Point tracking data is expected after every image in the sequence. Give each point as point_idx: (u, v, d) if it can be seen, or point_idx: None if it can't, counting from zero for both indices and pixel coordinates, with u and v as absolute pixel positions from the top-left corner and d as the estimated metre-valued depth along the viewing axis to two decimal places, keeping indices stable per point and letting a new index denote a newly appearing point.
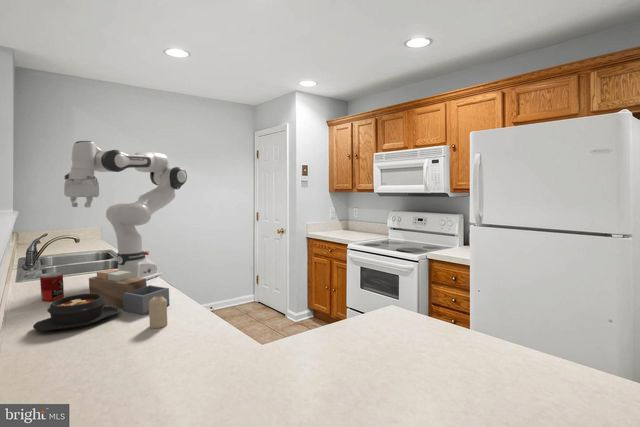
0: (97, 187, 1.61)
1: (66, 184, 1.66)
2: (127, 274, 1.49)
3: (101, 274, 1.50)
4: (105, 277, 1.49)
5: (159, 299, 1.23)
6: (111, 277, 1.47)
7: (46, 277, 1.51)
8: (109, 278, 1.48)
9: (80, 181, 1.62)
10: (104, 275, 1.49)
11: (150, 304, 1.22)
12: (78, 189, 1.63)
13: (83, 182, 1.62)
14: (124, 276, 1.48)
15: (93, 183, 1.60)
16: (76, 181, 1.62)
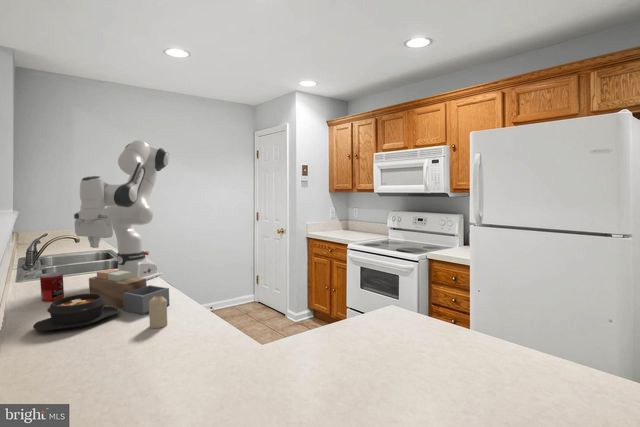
0: (110, 227, 1.51)
1: (76, 223, 1.56)
2: (127, 274, 1.49)
3: (101, 274, 1.50)
4: (105, 277, 1.49)
5: (159, 299, 1.23)
6: (111, 277, 1.47)
7: (46, 277, 1.51)
8: (109, 278, 1.48)
9: (91, 221, 1.52)
10: (104, 275, 1.49)
11: (150, 304, 1.22)
12: (90, 229, 1.53)
13: (95, 222, 1.51)
14: (124, 276, 1.48)
15: (106, 223, 1.50)
16: (87, 221, 1.52)
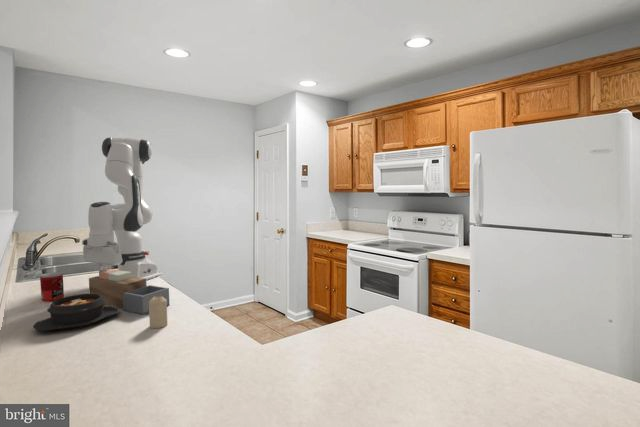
0: (119, 254, 1.50)
1: (85, 249, 1.55)
2: (128, 274, 1.49)
3: (103, 274, 1.49)
4: (107, 277, 1.48)
5: (159, 299, 1.23)
6: (112, 277, 1.47)
7: (46, 277, 1.51)
8: (110, 278, 1.48)
9: (100, 248, 1.50)
10: (106, 275, 1.48)
11: (150, 304, 1.22)
12: (99, 256, 1.52)
13: (104, 249, 1.50)
14: (124, 276, 1.48)
15: (115, 251, 1.48)
16: (96, 248, 1.50)
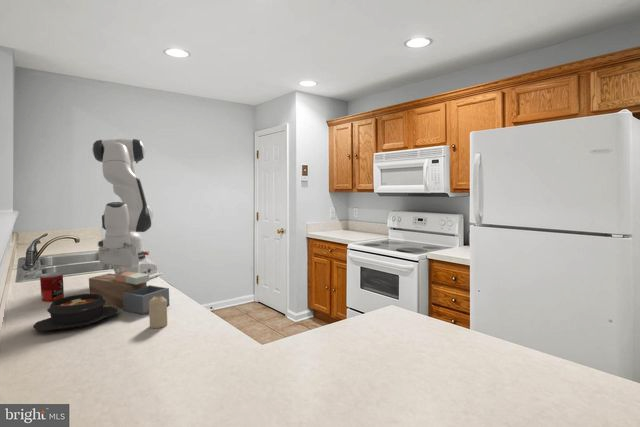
0: (136, 256, 1.45)
1: (100, 251, 1.50)
2: (145, 277, 1.45)
3: (120, 277, 1.45)
4: (124, 280, 1.44)
5: (159, 299, 1.23)
6: (129, 280, 1.42)
7: (46, 277, 1.51)
8: (127, 281, 1.43)
9: (117, 249, 1.46)
10: (123, 278, 1.44)
11: (150, 304, 1.22)
12: (115, 258, 1.47)
13: (120, 251, 1.45)
14: (142, 279, 1.43)
15: (132, 252, 1.44)
16: (112, 250, 1.45)
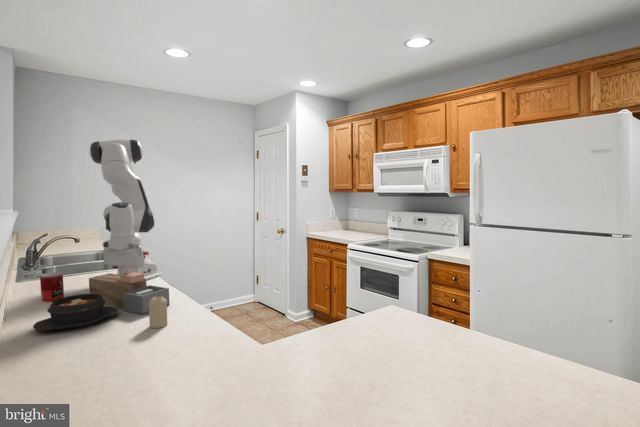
0: (142, 256, 1.44)
1: (105, 252, 1.49)
2: None
3: (125, 278, 1.43)
4: (129, 281, 1.42)
5: (159, 299, 1.23)
6: None
7: (46, 277, 1.51)
8: None
9: (122, 250, 1.44)
10: (128, 279, 1.43)
11: (150, 304, 1.22)
12: (120, 259, 1.46)
13: (125, 252, 1.44)
14: None
15: (137, 253, 1.42)
16: (117, 251, 1.44)
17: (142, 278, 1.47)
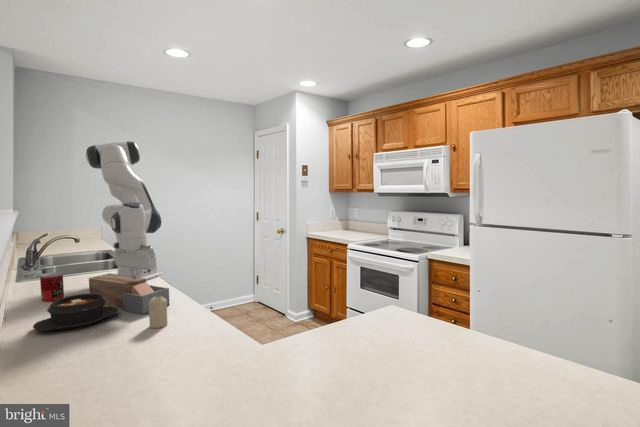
0: (154, 258, 1.41)
1: (116, 253, 1.46)
2: None
3: (136, 292, 1.41)
4: None
5: (159, 299, 1.23)
6: None
7: (46, 277, 1.51)
8: None
9: (133, 251, 1.41)
10: None
11: (150, 304, 1.22)
12: (132, 260, 1.43)
13: (137, 253, 1.41)
14: None
15: (149, 254, 1.40)
16: (129, 252, 1.41)
17: None
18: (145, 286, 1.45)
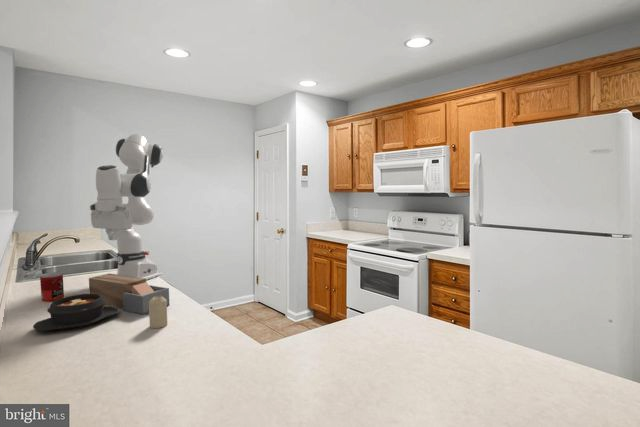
0: (129, 219, 1.45)
1: (93, 215, 1.50)
2: None
3: (136, 292, 1.41)
4: None
5: (159, 299, 1.23)
6: None
7: (46, 277, 1.51)
8: None
9: (109, 213, 1.45)
10: None
11: (150, 304, 1.22)
12: (108, 221, 1.47)
13: (113, 214, 1.45)
14: None
15: (125, 215, 1.44)
16: (105, 213, 1.45)
17: None
18: (145, 286, 1.45)
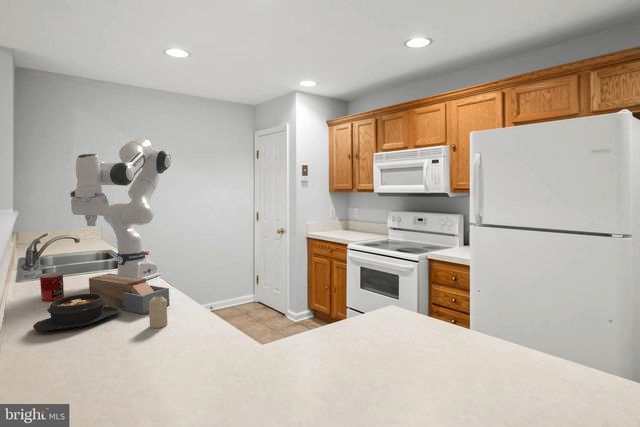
0: (107, 205, 1.50)
1: (73, 202, 1.55)
2: None
3: (136, 292, 1.41)
4: None
5: (159, 299, 1.23)
6: None
7: (46, 277, 1.51)
8: None
9: (88, 199, 1.50)
10: None
11: (150, 304, 1.22)
12: (86, 207, 1.51)
13: (91, 200, 1.50)
14: None
15: (102, 201, 1.48)
16: (84, 199, 1.50)
17: None
18: (145, 286, 1.45)
